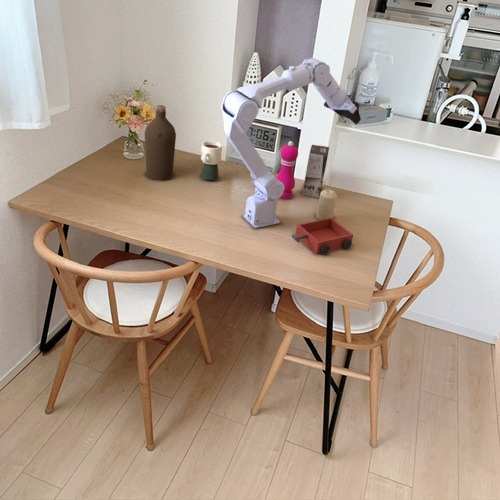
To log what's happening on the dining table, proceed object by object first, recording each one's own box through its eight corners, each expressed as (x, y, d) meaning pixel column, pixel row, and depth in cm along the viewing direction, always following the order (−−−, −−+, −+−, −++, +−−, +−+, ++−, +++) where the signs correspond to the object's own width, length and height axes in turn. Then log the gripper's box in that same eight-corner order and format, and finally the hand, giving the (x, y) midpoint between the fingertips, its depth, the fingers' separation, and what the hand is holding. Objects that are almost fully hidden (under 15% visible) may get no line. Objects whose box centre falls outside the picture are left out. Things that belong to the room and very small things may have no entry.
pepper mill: (269, 196, 186) (277, 142, 175) (276, 188, 192) (284, 135, 181) (289, 201, 184) (298, 147, 173) (295, 193, 190) (304, 140, 179)
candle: (335, 218, 177) (341, 191, 172) (325, 223, 174) (331, 195, 168) (322, 211, 180) (327, 185, 175) (312, 216, 177) (317, 189, 171)
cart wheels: (305, 259, 154) (307, 249, 152) (281, 236, 164) (282, 226, 162) (350, 248, 162) (353, 238, 160) (324, 226, 172) (326, 217, 170)
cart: (316, 254, 157) (318, 242, 155) (295, 235, 165) (297, 224, 163) (350, 245, 163) (353, 234, 161) (328, 228, 171) (331, 217, 169)
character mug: (207, 170, 198) (209, 137, 191) (224, 175, 196) (227, 142, 189) (193, 181, 190) (195, 146, 183) (211, 186, 188) (214, 151, 181)
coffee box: (319, 198, 189) (327, 156, 180) (301, 195, 189) (309, 152, 181) (321, 187, 196) (329, 146, 188) (304, 184, 197) (311, 143, 188)
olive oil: (180, 178, 191) (182, 109, 177) (153, 183, 185) (154, 113, 171) (165, 166, 197) (166, 100, 184) (139, 171, 191) (138, 103, 178)
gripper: (354, 87, 152) (374, 115, 162) (324, 73, 162) (344, 100, 172) (338, 106, 153) (358, 133, 162) (309, 91, 163) (330, 117, 173)
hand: (350, 117), depth 167 cm, fingers open, 7 cm apart
